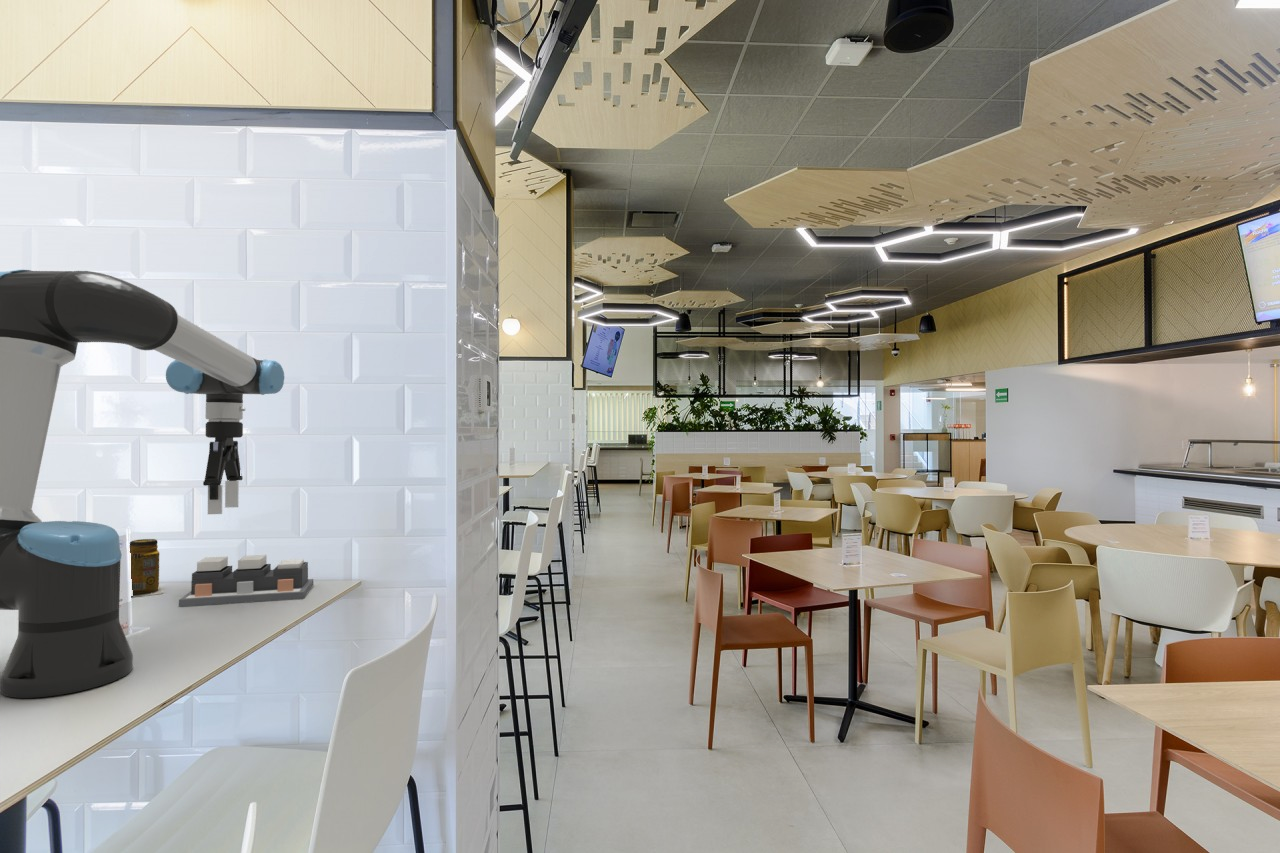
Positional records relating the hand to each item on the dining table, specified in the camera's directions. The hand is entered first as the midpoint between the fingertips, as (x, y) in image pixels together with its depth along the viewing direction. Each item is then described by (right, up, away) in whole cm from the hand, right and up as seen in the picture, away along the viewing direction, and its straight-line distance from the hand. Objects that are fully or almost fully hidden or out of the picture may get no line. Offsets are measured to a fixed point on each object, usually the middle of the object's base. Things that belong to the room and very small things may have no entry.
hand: (223, 510), depth 159 cm
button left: (+2, -12, -7) cm, 14 cm away
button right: (+17, -14, -2) cm, 22 cm away
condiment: (-16, -19, -4) cm, 25 cm away
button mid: (+9, -12, -4) cm, 16 cm away
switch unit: (+10, -19, -6) cm, 22 cm away
